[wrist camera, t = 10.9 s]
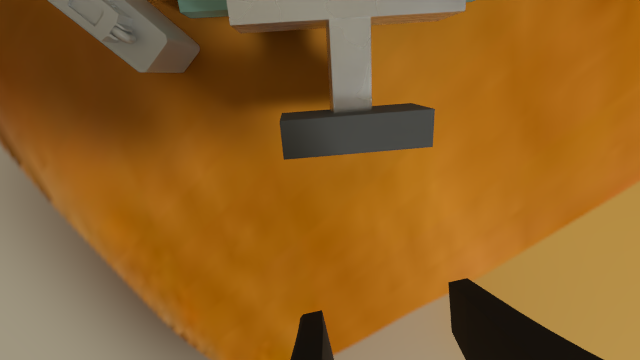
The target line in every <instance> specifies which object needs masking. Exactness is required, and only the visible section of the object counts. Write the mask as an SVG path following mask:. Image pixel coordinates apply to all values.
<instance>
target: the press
mask: <svg viewBox="0 0 640 360" xmlns="http://www.w3.org/2000/svg"><path fill="white" fill-rule="evenodd" d="M472 1H474V0H466V2H472ZM178 4H179V10H180V13H182V14H184V15H186V16H187V17H189V18H205V17H222V16H229V15H228V8H227V1H226V0H178Z"/></svg>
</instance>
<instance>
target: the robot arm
mask: <svg viewBox="0 0 640 360" xmlns="http://www.w3.org/2000/svg"><path fill="white" fill-rule="evenodd" d="M449 297H450V311H451V327H452V333H453V335H454V337H455V339H456V341H457V343H458V345H459V347H460V349H461V351H462V353H463V355H464V357H465V359H466V360H603V359H601V358H599V357H597V356H596V355H594V354H591V353H590V352H588V351H586V350H584V349H582V348H581V347H579V346H577V345H575V344H573V343H572V342H570V341H568V340H566V339H564V338H563V337H561V336H559V335H557V334H555V333H554V332H552V331H550V330H548V329H547V328H545V327H543V326H542V325H540V324H538V323H537V322H535V321H533V320H532V319H530V318H528V317H527V316H525V315H524V314H522V313H520V312H519V311H517V310H515V309H514V308H512V307H511V306H509V305H508V304H506V303H504V302H503V301H501V300H500V299H498V298H497V297H495V296H494V295H492V294H491V293H489V292H488V291H486V290H484V289H483V288H481V287H480V286H478V285H477V284H475V283H474V282H472V281H471V280H469V279H462V280H458V281H453V282H449ZM290 360H334V358H333V354H332V350H331V346H330V342H329V338H328V333H327V329H326V325H325V321H324V317H323V313H322V310H321V311H317V312H312V313H308V314H303V315H302V317H301V318H300V324H299V329H298V333H297V338H296V342H295V345H294V349H293V353H292V356H291V359H290Z"/></svg>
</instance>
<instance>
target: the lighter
mask: <svg viewBox="0 0 640 360" xmlns="http://www.w3.org/2000/svg"><path fill="white" fill-rule="evenodd" d="M48 1H49V2H50V3H52V4H53V5H54V6H55V7H57V8H58V9H59V10H61V11H62V12H63V13H64V14H66V15H67V16H68V17H69V18H71V19H72V20H73V21H75V22H76V23H77V24H78V25H80V26H81V27H82V28H84V29H85V30H86V31H87V32H89V33H90V34H91V35H92V36H94V37H95V38H96V39H98V40H99V41H100V42H101V43H103V44H104V45H105V46H106V47H108V48H109V49H110V50H112V51H113V52H114V53H115V54H117V55H118V56H119V57H120V58H122V59H123V60H124V61H126V62H127V63H128V64H129V65H131V66H132V67H133V68H134V69H136V70H137V71H138V72H158V73H183V72H184V71H185V70H186V69H187V67H188V66H189V65H190V63H191V62H192V61H193V59H194V58H195V57H196V55H197V54H198V53H199V51H200V48H199V45H198V44H197V43H196V42H195V41H194V40H192V39H191V38H190V37H189V36H188V35H187V34H185V33H184V32H183V31H182V30H181V29H180V28H179V27H177V26H176V25H175V24H174V23H173V22H172V21H170V20H169V19H168V18H167V17H166V16H165V15H163V14H162V13H161V12H160V11H159V10H158V9H156V8H155V7H154V6H153V5H152V4H151V3H150V2H148V1H147V0H48Z"/></svg>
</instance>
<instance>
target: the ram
mask: <svg viewBox="0 0 640 360" xmlns="http://www.w3.org/2000/svg"><path fill="white" fill-rule="evenodd" d="M226 1H227V8H228V15H229V21H230V26H232V27H233V28H234V29H235V30H237V31H238V32H239V33H254V32H270V31H286V30H302V29H318V28H326V37H327V55H328V73H329V92H330V110H318V111H305V112H292V113H282V115H281V119H280V128H281V137H282V146H283V156H284V160H285V159H296V158H308V157H319V156H331V155H343V154H354V153H366V152H378V151H389V150H401V149H412V148H424V147H433V129H434V111H435V109H433V108H429V107H425V106H420V105H416V104H412V103H408V104H395V105H382V106H372V96H371V25H382V24H398V23H414V22H430V21H439V20H442V19H445V18H447V17H450V16H453V15H455V14H458V13H461V12H464V11H465V5H466V0H226Z"/></svg>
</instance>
